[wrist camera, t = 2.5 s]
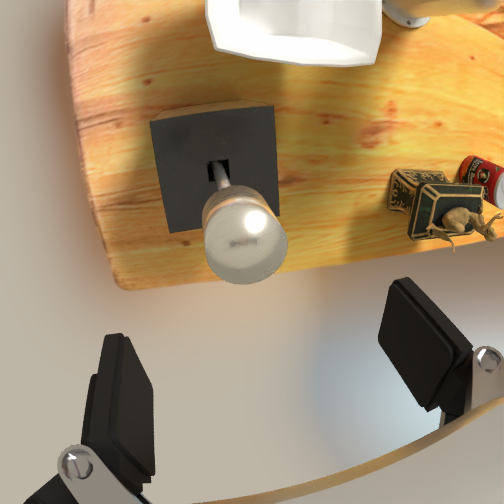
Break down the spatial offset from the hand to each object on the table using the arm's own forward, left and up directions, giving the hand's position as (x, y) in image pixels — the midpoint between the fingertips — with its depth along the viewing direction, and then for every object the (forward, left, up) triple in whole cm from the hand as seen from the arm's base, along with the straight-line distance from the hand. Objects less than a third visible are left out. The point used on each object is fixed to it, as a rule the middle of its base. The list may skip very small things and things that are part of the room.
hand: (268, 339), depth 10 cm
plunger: (0, 0, -26) cm, 26 cm away
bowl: (-19, +10, -37) cm, 43 cm away
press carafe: (+1, 0, -37) cm, 37 cm away
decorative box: (+11, +35, -37) cm, 52 cm away
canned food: (+8, +52, -37) cm, 65 cm away
